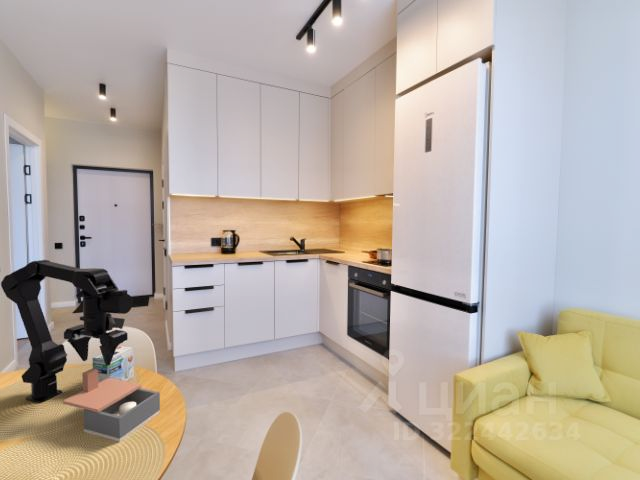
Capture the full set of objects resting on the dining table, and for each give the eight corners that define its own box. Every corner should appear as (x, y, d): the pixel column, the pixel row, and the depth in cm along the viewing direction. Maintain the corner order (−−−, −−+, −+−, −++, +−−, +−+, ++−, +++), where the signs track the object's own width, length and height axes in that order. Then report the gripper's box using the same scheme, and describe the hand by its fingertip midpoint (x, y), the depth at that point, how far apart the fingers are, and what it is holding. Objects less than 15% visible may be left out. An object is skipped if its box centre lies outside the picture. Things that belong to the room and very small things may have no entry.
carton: (84, 431, 84) (83, 409, 84) (127, 404, 97) (126, 385, 96) (119, 441, 81) (119, 418, 80) (159, 412, 93) (159, 392, 93)
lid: (62, 403, 86) (62, 381, 85) (109, 380, 99) (108, 360, 98) (98, 412, 82) (97, 389, 82) (141, 387, 95) (141, 367, 95)
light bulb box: (109, 392, 103) (108, 359, 103) (91, 390, 105) (91, 357, 104) (135, 377, 114) (134, 346, 113) (118, 374, 115) (118, 345, 114)
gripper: (142, 307, 101) (143, 356, 102) (97, 302, 107) (98, 348, 108) (109, 317, 91) (110, 372, 92) (61, 311, 96) (63, 362, 97)
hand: (96, 362), depth 97 cm, fingers open, 9 cm apart
